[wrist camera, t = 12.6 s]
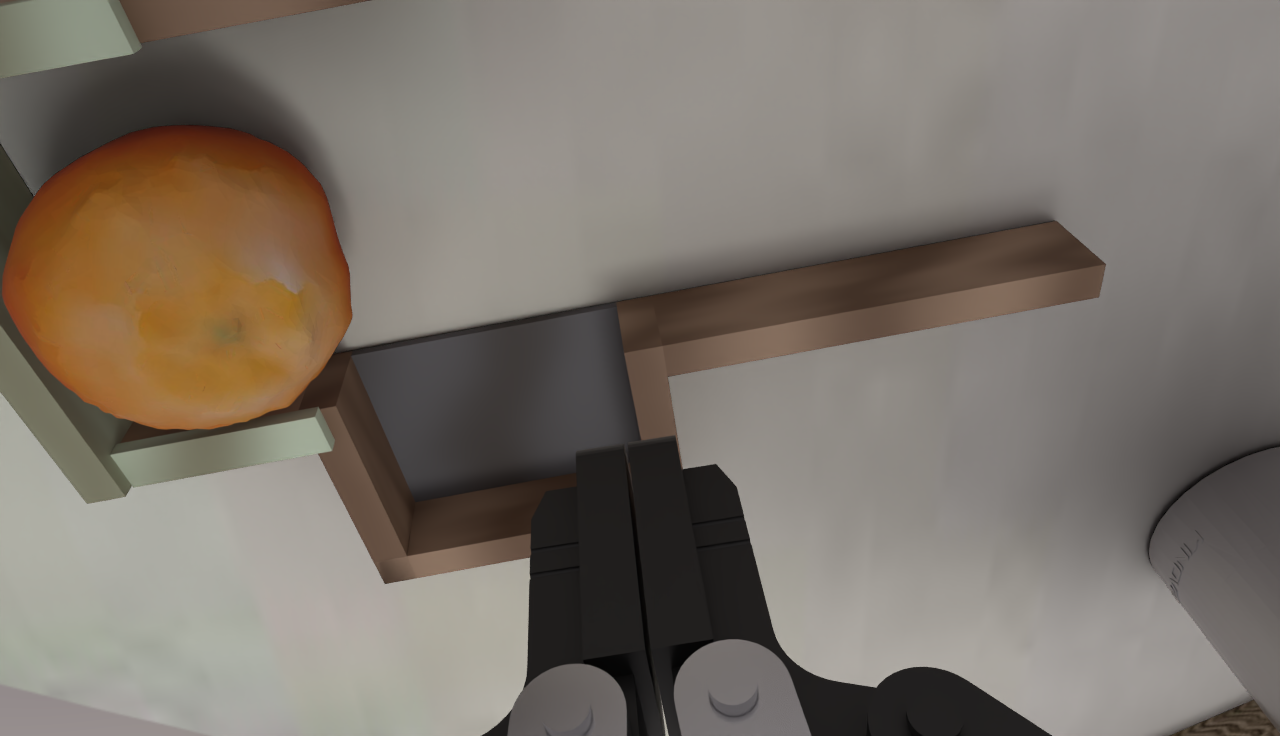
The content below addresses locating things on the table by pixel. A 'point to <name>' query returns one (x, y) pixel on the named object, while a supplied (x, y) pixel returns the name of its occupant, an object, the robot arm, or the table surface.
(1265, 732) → the latched wooden chest
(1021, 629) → the table surface
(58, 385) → the trap box
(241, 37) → the table surface
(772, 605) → the table surface
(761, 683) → the robot arm
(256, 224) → the fruit
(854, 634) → the table surface
